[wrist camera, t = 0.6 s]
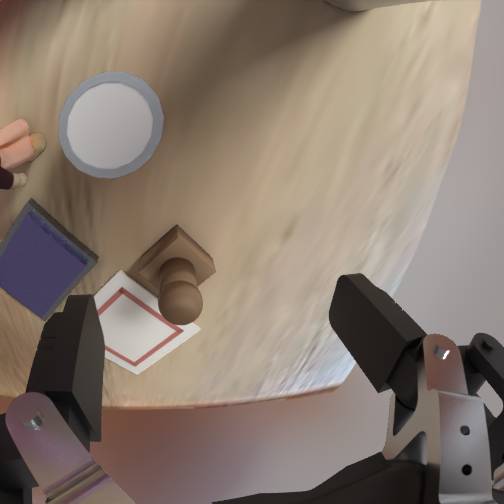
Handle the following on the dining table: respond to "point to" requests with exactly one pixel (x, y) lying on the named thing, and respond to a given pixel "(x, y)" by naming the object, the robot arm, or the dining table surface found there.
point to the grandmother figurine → (17, 152)
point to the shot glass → (111, 124)
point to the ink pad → (41, 261)
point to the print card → (136, 324)
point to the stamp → (177, 275)
